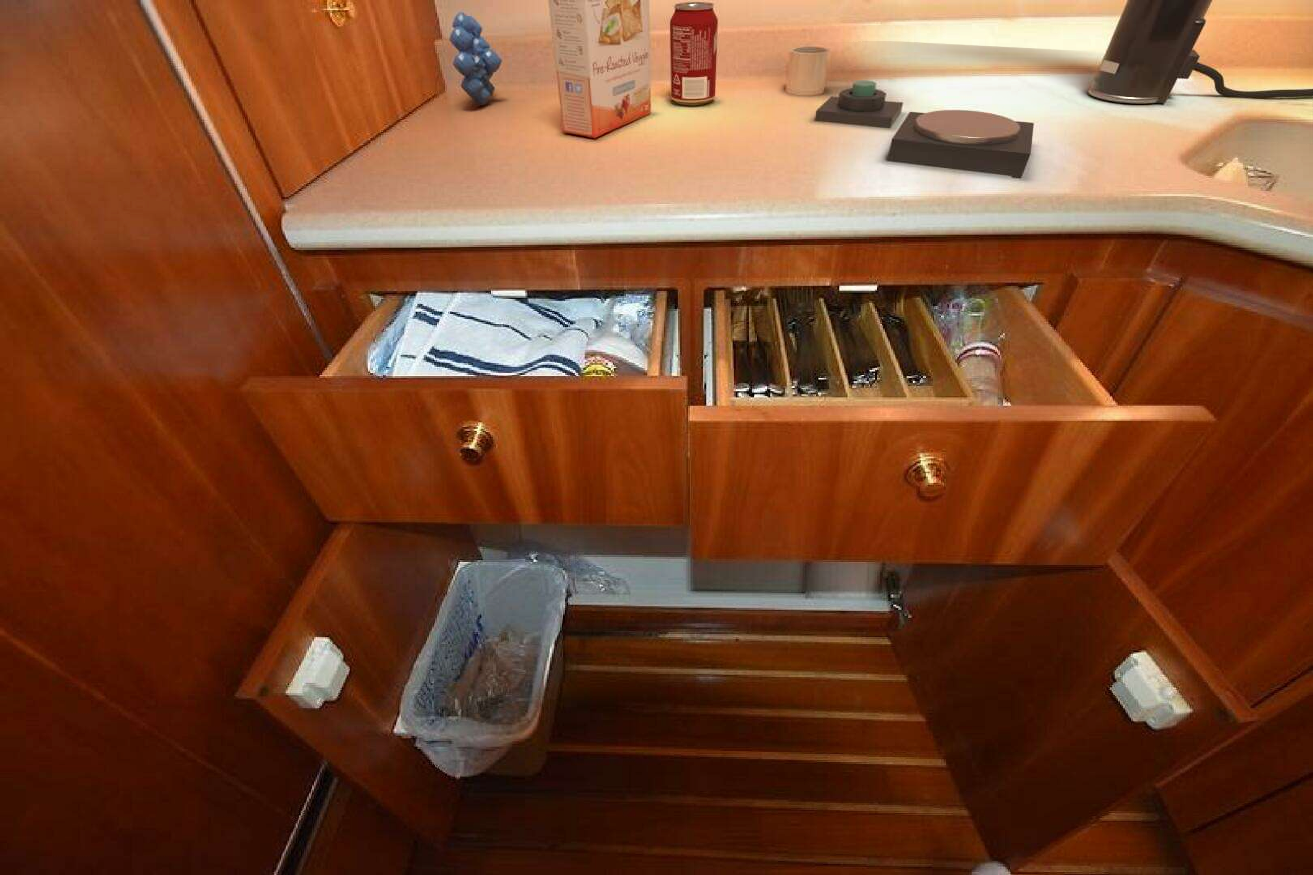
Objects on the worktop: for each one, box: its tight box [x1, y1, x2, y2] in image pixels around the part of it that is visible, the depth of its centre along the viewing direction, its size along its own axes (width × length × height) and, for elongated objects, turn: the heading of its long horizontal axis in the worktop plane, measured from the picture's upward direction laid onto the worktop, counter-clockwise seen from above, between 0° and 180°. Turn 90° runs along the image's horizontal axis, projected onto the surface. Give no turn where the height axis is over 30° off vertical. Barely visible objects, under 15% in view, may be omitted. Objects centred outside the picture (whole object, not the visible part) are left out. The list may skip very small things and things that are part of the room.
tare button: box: [851, 80, 877, 97], centre depth 78 cm, size 3×3×2 cm
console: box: [814, 87, 904, 129], centre depth 80 cm, size 10×8×3 cm
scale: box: [886, 109, 1035, 179], centre depth 68 cm, size 14×12×3 cm
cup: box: [785, 45, 831, 96], centre depth 90 cm, size 6×6×6 cm
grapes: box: [449, 11, 503, 107], centre depth 87 cm, size 12×7×12 cm, turn 177°
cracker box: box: [548, 0, 652, 139], centre depth 75 cm, size 14×6×21 cm, turn 148°
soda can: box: [669, 1, 719, 107], centre depth 85 cm, size 7×7×12 cm
